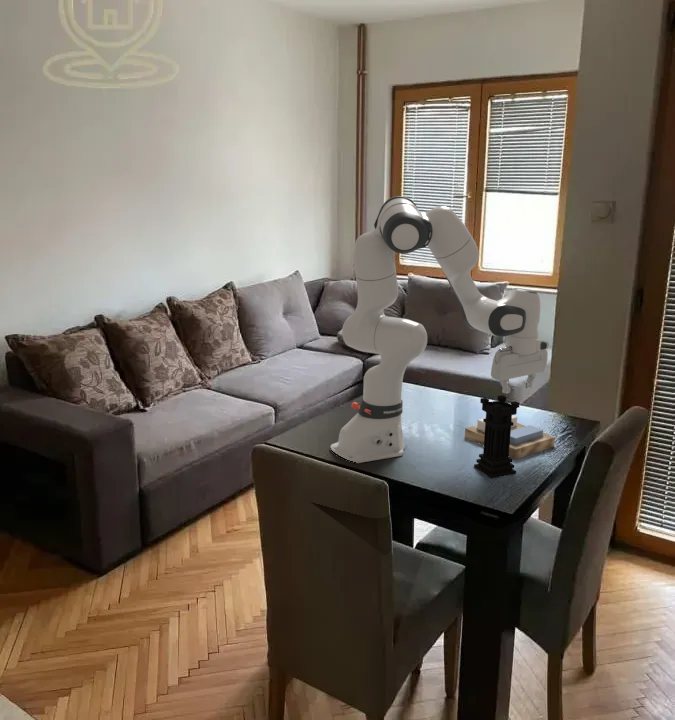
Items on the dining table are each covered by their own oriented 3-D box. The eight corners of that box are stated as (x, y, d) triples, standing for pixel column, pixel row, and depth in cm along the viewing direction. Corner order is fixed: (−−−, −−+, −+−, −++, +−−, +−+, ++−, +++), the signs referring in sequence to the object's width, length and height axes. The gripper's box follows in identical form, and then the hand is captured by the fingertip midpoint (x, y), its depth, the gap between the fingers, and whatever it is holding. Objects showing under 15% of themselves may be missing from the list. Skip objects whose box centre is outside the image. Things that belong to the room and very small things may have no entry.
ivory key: (489, 434, 203) (489, 424, 202) (477, 429, 207) (477, 419, 206) (516, 426, 209) (517, 417, 209) (504, 421, 213) (504, 412, 213)
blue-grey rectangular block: (514, 448, 195) (515, 438, 194) (501, 442, 199) (502, 433, 198) (542, 439, 202) (543, 430, 201) (529, 434, 206) (529, 425, 205)
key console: (515, 459, 192) (516, 449, 192) (464, 437, 208) (465, 428, 207) (554, 446, 202) (555, 437, 201) (502, 426, 218) (503, 417, 217)
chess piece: (491, 478, 180) (496, 407, 175) (473, 467, 187) (478, 398, 182) (515, 473, 183) (521, 403, 178) (497, 462, 190) (503, 394, 185)
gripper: (504, 351, 187) (500, 399, 191) (552, 342, 199) (548, 387, 202) (487, 346, 192) (484, 393, 196) (535, 338, 204) (531, 382, 207)
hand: (517, 390), depth 199 cm, fingers open, 8 cm apart
